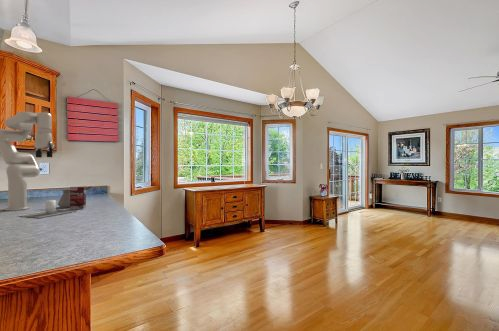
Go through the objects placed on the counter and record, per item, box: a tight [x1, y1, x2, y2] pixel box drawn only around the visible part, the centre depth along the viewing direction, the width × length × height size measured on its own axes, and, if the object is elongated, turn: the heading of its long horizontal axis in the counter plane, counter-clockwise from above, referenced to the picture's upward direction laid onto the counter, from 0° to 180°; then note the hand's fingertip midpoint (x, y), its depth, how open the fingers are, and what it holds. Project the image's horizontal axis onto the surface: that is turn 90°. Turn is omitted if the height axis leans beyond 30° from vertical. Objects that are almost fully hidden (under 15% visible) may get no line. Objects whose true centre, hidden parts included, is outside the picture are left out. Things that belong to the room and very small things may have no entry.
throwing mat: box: [17, 209, 77, 219], centre depth 155 cm, size 18×22×1 cm
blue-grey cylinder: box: [45, 199, 57, 214], centre depth 154 cm, size 5×5×8 cm
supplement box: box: [69, 186, 87, 211], centre depth 174 cm, size 9×5×16 cm, turn 105°
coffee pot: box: [57, 186, 93, 209], centre depth 184 cm, size 21×12×15 cm, turn 123°
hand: (44, 157), depth 161 cm, fingers open, 9 cm apart
